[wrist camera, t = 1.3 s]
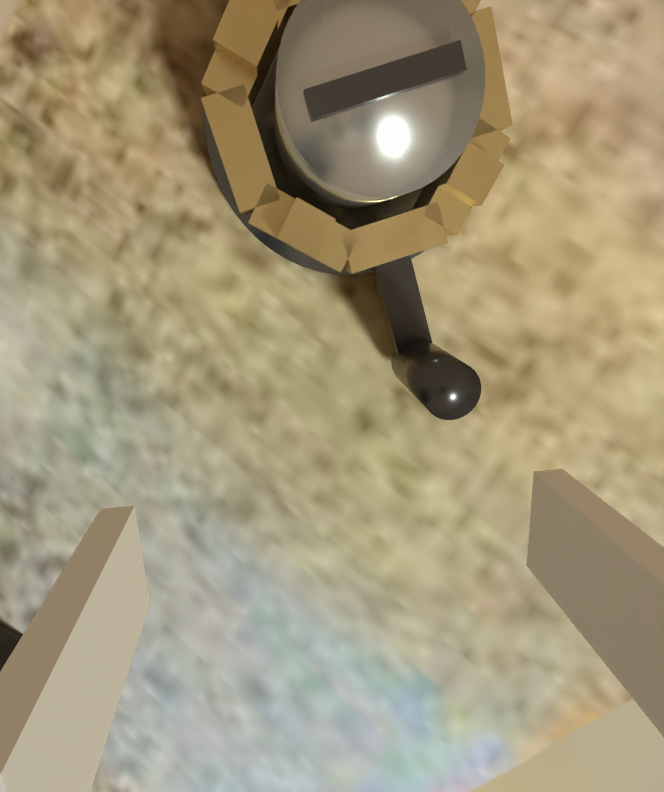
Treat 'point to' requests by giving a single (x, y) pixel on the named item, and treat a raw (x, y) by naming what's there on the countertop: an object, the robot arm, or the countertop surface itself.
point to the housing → (364, 108)
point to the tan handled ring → (372, 242)
